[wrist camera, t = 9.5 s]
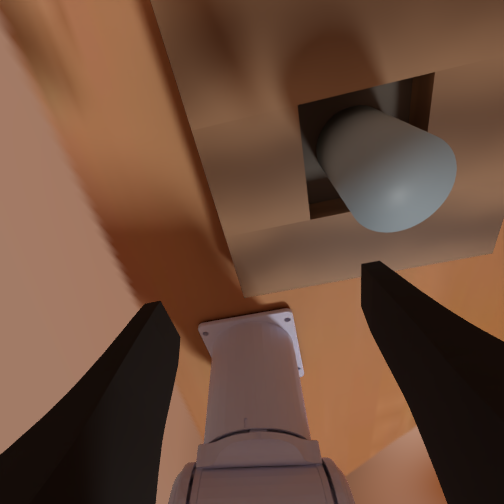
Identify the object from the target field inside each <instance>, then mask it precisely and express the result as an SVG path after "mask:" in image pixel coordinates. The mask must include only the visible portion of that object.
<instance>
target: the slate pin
mask: <svg viewBox="0 0 504 504" xmlns="http://www.w3.org/2000/svg"><path fill="white" fill-rule="evenodd" d="M316 152H317V159H318V162H319V164H320V166H321V168H322V169H323V171H324V172H325V174H326V175H327V177H328V179H329V180H330V182H331V183H332V185H333V186H334V188H335V189H336V191H337V192H338V194H339V195H340V197H341V198H342V200H343V201H344V203H345V204H346V206H347V207H348V209H349V210H350V212H351V213H352V215H353V216H354V218H355V219H356V220H357V221H358V222H359V223H360V224H361V225H362V226H364V227H365V228H367V229H370V230H373V231H376V232H385V233H388V232H397V231H402V230H405V229H408V228H411V227H413V226H415V225H417V224H419V223H421V222H422V221H424V220H425V219H427V218H428V217H430V216H431V215H432V214H433V213H434V212H435V211H436V210H437V209H438V208H439V207H440V206H441V205H442V204H443V203H444V201H445V200H446V198H447V197H448V195H449V193H450V192H451V190H452V187H453V185H454V182H455V178H456V171H457V164H456V158H455V155H454V153H453V150H452V149H451V147H450V146H449V145H448V144H447V143H446V142H445V141H444V140H442V139H441V138H439V137H437V136H435V135H433V134H430V133H428V132H426V131H424V130H422V129H419V128H417V127H415V126H413V125H410V124H408V123H406V122H404V121H401V120H399V119H397V118H395V117H392V116H390V115H388V114H386V113H384V112H381V111H379V110H377V109H375V108H372V107H369V106H364V105H356V106H351V107H348V108H345V109H343V110H341V111H339V112H338V113H336V114H335V115H334V116H333V117H332V118H331V119H330V120H329V121H328V122H327V123H326V124H325V126H324V127H323V129H322V131H321V133H320V135H319V138H318V141H317V148H316Z"/></svg>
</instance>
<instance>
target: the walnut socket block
mask: <svg viewBox="0 0 504 504" xmlns="http://www.w3.org/2000/svg"><path fill="white" fill-rule="evenodd" d="M150 1H151V4H152V7H153V10H154V14H155V17H156V20H157V23H158V26H159V29H160V33H161V36H162V39H163V42H164V45H165V48H166V51H167V55H168V58H169V61H170V64H171V67H172V70H173V74H174V77H175V80H176V83H177V86H178V89H179V93H180V96H181V99H182V102H183V105H184V108H185V112H186V115H187V118H188V121H189V124H190V127H191V131H192V134H193V137H194V140H195V143H196V146H197V150H198V153H199V156H200V159H201V162H202V165H203V169H204V172H205V175H206V178H207V181H208V184H209V188H210V191H211V194H212V197H213V200H214V203H215V207H216V210H217V213H218V216H219V219H220V222H221V225H222V229H223V232H224V235H225V238H226V241H227V244H228V248H229V251H230V254H231V257H232V260H233V263H234V267H235V270H236V273H237V276H238V279H239V282H240V286H241V289H242V292H243V295H244V298H247V297H253V296H259V295H264V294H270V293H275V292H281V291H286V290H292V289H297V288H303V287H308V286H314V285H320V284H325V283H331V282H336V281H342V280H347V279H353V278H358V277H361V264H363V263H369V262H374V261H381V262H382V263H384V264H385V265H386V266H388V267H389V268H390V269H392V270H393V271H397V270H403V269H408V268H414V267H419V266H425V265H430V264H436V263H441V262H447V261H453V260H458V259H464V258H469V257H475V256H480V255H486V254H491V253H493V250H494V247H495V244H496V241H497V237H498V234H499V231H500V228H501V225H502V222H503V219H504V0H150ZM356 105H364V106H369V107H372V108H375V109H377V110H379V111H381V112H384V113H386V114H388V115H390V116H392V117H395V118H397V119H399V120H401V121H404V122H406V123H408V124H410V125H413V126H415V127H417V128H419V129H422V130H424V131H426V132H428V133H430V134H433V135H435V136H437V137H439V138H441V139H442V140H444V141H445V142H446V143H447V144H448V145H449V146H450V147H451V149H452V150H453V153H454V155H455V158H456V164H457V171H456V178H455V182H454V185H453V187H452V190H451V192H450V193H449V195H448V197H447V198H446V200H445V201H444V203H443V204H442V205H441V206H440V207H439V208H438V209H437V210H436V211H435V212H434V213H433V214H432V215H431V216H430V217H428V218H427V219H425V220H424V221H422V222H421V223H419V224H417V225H415V226H413V227H411V228H408V229H405V230H402V231H397V232H388V233H385V232H376V231H373V230H370V229H367V228H365V227H364V226H362V225H361V224H360V223H359V222H358V221H357V220H356V219H355V218H354V216H353V215H352V213H351V212H350V210H349V209H348V207H347V206H346V204H345V203H344V201H343V200H342V198H341V197H340V195H339V194H338V192H337V191H336V189H335V188H334V186H333V185H332V183H331V182H330V180H329V179H328V177H327V175H326V174H325V172H324V171H323V169H322V168H321V166H320V164H319V162H318V159H317V152H316V148H317V141H318V138H319V135H320V133H321V131H322V129H323V127H324V126H325V124H326V123H327V122H328V121H329V120H330V119H331V118H332V117H333V116H334V115H335V114H336V113H338V112H339V111H341V110H343V109H345V108H348V107H351V106H356Z"/></svg>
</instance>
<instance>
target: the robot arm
mask: <svg viewBox="0 0 504 504" xmlns="http://www.w3.org/2000/svg"><path fill="white" fill-rule="evenodd" d="M361 307H362V310H363V313H364V315H365V318H366V321H367V323H368V326H369V328H370V331H371V333H372V335H373V337H374V339H375V341H376V343H377V345H378V347H379V349H380V351H381V353H382V355H383V357H384V359H385V360H386V362H387V364H388V366H389V368H390V370H391V372H392V374H393V376H394V378H395V380H396V381H397V383H398V385H399V387H400V389H401V391H402V393H403V395H404V397H405V399H406V401H407V403H408V405H409V408H410V410H411V412H412V415H413V417H414V420H415V422H416V424H417V427H418V429H419V432H420V434H421V437H422V439H423V441H424V444H425V446H426V449H427V452H428V454H429V457H430V459H431V462H432V464H433V467H434V469H435V471H436V474H437V477H438V480H439V482H440V485H441V487H442V490H443V493H444V496H445V498H446V501H447V503H448V504H504V342H503V341H502V340H500V339H498V338H496V337H494V336H492V335H490V334H489V333H487V332H485V331H483V330H481V329H480V328H478V327H476V326H474V325H473V324H471V323H469V322H468V321H466V320H464V319H463V318H461V317H460V316H458V315H456V314H455V313H453V312H451V311H450V310H448V309H447V308H445V307H444V306H442V305H441V304H439V303H438V302H436V301H435V300H433V299H432V298H430V297H429V296H428V295H426V294H425V293H423V292H422V291H420V290H419V289H417V288H416V287H415V286H413V285H412V284H411V283H409V282H408V281H406V280H405V279H404V278H402V277H401V276H400V275H398V274H397V273H396V272H394V271H393V270H392V269H390V268H389V267H388V266H386V265H385V264H384V263H382V262H381V261H374V262H369V263H363V264H361ZM198 331H199V333H200V335H201V337H202V339H203V341H204V343H205V345H206V348H207V350H208V352H209V354H210V356H211V358H212V363H211V374H210V384H209V395H208V405H207V416H206V426H205V437H204V444H200V445H199V446H198V452H197V461H196V462H191V463H187V464H186V465H185V467H184V468H183V470H182V471H181V472H180V474H179V475H178V476H177V477H176V479H175V481H174V484H173V487H172V490H171V494H170V498H169V502H168V504H355V502H354V499H353V496H352V493H351V490H350V487H349V484H348V482H347V480H346V478H345V476H344V474H343V473H342V471H341V470H340V469H339V468H338V467H337V466H336V465H335V463H334V462H333V461H332V460H331V459H330V458H321V454H320V449H319V444H318V441H317V440H311V437H310V432H309V426H308V421H307V415H306V409H305V404H304V398H303V393H302V387H301V382H300V377H302V376H303V375H304V371H303V365H302V360H301V355H300V350H299V345H298V340H297V334H296V329H295V324H294V319H293V314H292V310H291V309H288V308H284V309H279V310H273V311H267V312H261V313H256V314H250V315H244V316H238V317H233V318H227V319H221V320H216V321H210V322H204V323H200V324H199V326H198ZM179 349H180V336H179V334H178V332H177V330H176V328H175V326H174V325H173V323H172V321H171V319H170V317H169V315H168V314H167V312H166V310H165V308H164V306H163V305H162V303H161V301H158V302H152V303H147V304H144V305H143V306H142V308H141V309H140V310H139V311H138V312H137V313H136V315H135V316H134V317H133V318H132V319H131V321H130V322H129V323H128V324H127V326H126V327H125V328H124V329H123V331H122V332H121V333H120V334H119V335H118V337H117V338H116V339H115V340H114V341H113V343H112V344H111V345H110V346H109V347H108V349H107V350H106V351H105V352H104V354H103V355H102V356H101V357H100V358H99V359H98V360H97V361H96V362H95V364H94V365H93V366H92V367H91V368H90V369H89V370H88V371H87V373H86V374H85V375H84V376H83V377H82V378H81V379H80V380H79V381H78V383H77V384H76V385H75V386H74V387H73V388H72V389H71V390H70V391H69V392H68V393H67V394H66V395H65V396H64V397H63V398H62V399H61V400H60V401H59V402H58V403H57V404H56V405H55V406H54V407H53V408H52V409H51V410H50V411H49V412H48V413H47V414H46V415H45V416H44V417H43V418H41V419H40V420H39V421H38V422H37V423H36V424H35V425H34V426H32V427H31V428H30V429H29V430H28V431H27V432H26V433H25V434H23V435H22V436H21V437H20V438H19V439H18V440H17V441H16V442H15V443H13V444H12V445H11V446H10V447H9V448H8V449H7V450H5V451H4V452H3V453H2V454H1V455H0V504H155V503H156V493H157V482H158V472H159V464H160V456H161V447H162V440H163V434H164V428H165V424H166V418H167V414H168V410H169V405H170V400H171V396H172V391H173V387H174V382H175V377H176V372H177V367H178V360H179Z"/></svg>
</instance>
